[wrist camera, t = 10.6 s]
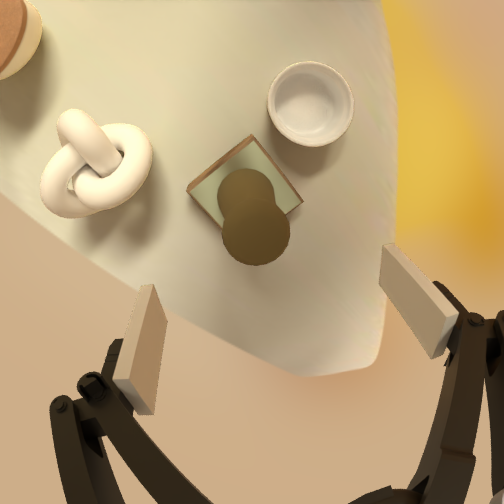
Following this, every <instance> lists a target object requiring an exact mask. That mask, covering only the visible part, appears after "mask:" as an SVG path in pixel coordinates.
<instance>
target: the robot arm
mask: <svg viewBox="0 0 504 504" xmlns="http://www.w3.org/2000/svg"><path fill="white" fill-rule="evenodd" d="M379 285H380V286H381V288H382V289H383V290H384V292H385V293H386V295H387V296H388V297H389V299H390V300H391V301H392V303H393V304H394V306H395V307H396V308H397V310H398V311H399V313H400V314H401V315H402V317H403V318H404V320H405V321H406V323H407V324H408V326H409V327H410V328H411V330H412V331H413V333H414V334H415V336H416V337H417V339H418V340H419V342H420V343H421V345H422V346H423V348H424V349H425V351H426V352H427V354H428V356H429V357H430V359H434V358H436V357H439V356H441V355H443V354H444V351H445V349H446V346H447V348H448V349H449V350H450V353H449V355H448V358H447V360H446V362H445V364H444V366H446V371H445V376H444V381H443V385H442V390H441V394H440V398H439V402H438V407H437V410H436V414H435V418H434V421H433V424H432V428H431V431H430V434H429V437H428V441H427V444H426V447H425V450H424V453H423V455H422V458H421V461H420V464H419V467H418V469H417V472H416V474H415V475H414V477H413V479H412V480H411V482H410V484H409V486H408V488H407V489H392V488H391V485H390V486H387V487H384V488H381V489H379V490H376V491H373V492H370V493H367V494H365V495H363V496H361V497H359V498H358V499H356V500H354V501H352V502H350V503H348V504H464V501H465V498H466V495H467V491H468V488H469V485H470V481H471V478H472V474H473V471H474V467H475V461H476V457H475V456H474V455H473V448H474V443H475V438H476V433H477V428H478V422H479V416H480V410H481V403H482V395H483V385H484V378H485V385H486V392H487V400H488V408H489V418H490V431H491V452H492V453H491V457H492V458H491V460H492V470H491V471H492V472H491V475H492V476H491V478H492V492H493V498H492V499H491V501H490V504H504V310H502V311H500V312H498V314H497V317H496V319H484V317H482V316H481V315H479V314H477V313H472V312H470V313H469V312H468V311H467V310H466V309H465V308H464V306H463V305H462V304H461V303H460V302H459V301H458V300H457V299H456V297H454V295H453V294H452V293H451V292H450V291H449V290H448V289H447V288H446V287H445V286H444V285H443V284H441V283H439V282H438V281H434V282H431V281H430V280H429V279H428V278H427V277H426V276H425V274H424V273H422V271H421V270H420V269H419V268H418V267H417V266H416V265H415V264H414V263H413V262H412V261H411V260H410V259H409V258H408V257H407V256H406V255H405V254H404V253H403V252H402V251H401V250H400V249H399V248H398V247H397V246H396V245H395V244H394V243H392V244H386V245H383V247H382V258H381V268H380V278H379ZM167 322H168V321H167V319H166V316H165V313H164V311H163V308H162V306H161V303H160V300H159V298H158V295H157V292H156V290H155V287H154V284H150V285H144V286H141V287H140V290H139V293H138V296H137V299H136V302H135V305H134V308H133V311H132V314H131V318H130V321H129V324H128V327H127V330H126V333H125V337H124V338H123V339H115V340H114V341H113V343H112V344H111V345H110V346H109V350H108V353H107V356H106V359H105V363H104V365H103V368H102V372H101V374H100V373H98V372H89V373H87V374H85V375H83V376H82V377H81V378H80V380H79V381H78V383H77V390H78V392H79V393H80V395H81V396H82V397H83V398H81V399H77V400H74V401H72V400H71V398H69V397H68V396H66V395H62V396H58V397H56V398H55V399H54V400H53V401H52V403H51V405H50V410H49V411H50V420H51V428H52V435H53V441H54V447H55V453H56V458H57V464H58V468H59V473H60V477H61V482H62V485H63V490H64V494H65V497H66V501H67V504H125V502H124V500H123V497H122V495H121V492H120V490H119V487H118V485H117V482H116V479H115V477H114V474H113V471H112V469H111V465H110V463H109V460H108V457H107V454H106V450H105V447H104V445H103V441H102V436H106V435H107V436H108V438H109V439H110V441H111V442H112V444H113V445H114V447H115V448H116V450H117V451H118V453H119V454H120V456H121V457H122V458H123V460H124V461H125V463H126V464H127V465H128V467H129V468H130V469H131V471H132V472H133V473H134V475H135V476H136V477H137V478H138V480H139V481H140V483H141V484H142V485H143V486H144V487H145V489H146V490H147V491H148V492H149V494H150V495H151V496H152V497H153V498H154V499H155V501H156V502H157V503H158V504H213V503H212V502H211V501H210V500H209V499H208V498H207V497H206V496H204V495H203V494H202V493H201V492H200V491H199V490H198V489H197V488H196V487H195V486H194V485H193V484H192V483H191V482H190V481H189V480H188V479H187V478H186V477H185V476H184V475H183V474H182V473H181V472H180V471H179V470H178V469H177V468H176V467H175V466H174V464H173V463H172V462H171V461H170V460H169V459H168V458H167V457H166V456H165V455H164V453H163V452H162V451H161V450H160V449H159V448H158V447H157V445H156V444H155V443H154V442H153V441H152V440H151V438H150V437H149V436H148V435H147V434H146V432H145V431H144V430H143V429H142V427H141V426H140V425H139V424H138V422H137V421H136V420H135V418H134V417H133V411H134V410H135V411H136V412H137V414H138V415H154V410H155V401H156V394H157V386H158V379H159V372H160V365H161V358H162V352H163V344H164V339H165V333H166V327H167Z"/></svg>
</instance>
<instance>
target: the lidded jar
mask: <svg viewBox="0 0 504 504" xmlns="http://www.w3.org/2000/svg"><path fill="white" fill-rule="evenodd" d="M41 35H42V19H41V16H40V14H39V12H38V10H37V9H36V8H35V7H34V6H33V5H32V4H31V3H30V2H28V1H26V0H0V80H2V79H5V78H7V77H9V76H11V75H13V74H15V73H16V72H18V71H19V70H20V69H21V68H23V67H24V66H25V65H26V64H27V63H28V61H29V60H30V59H31V58H32V56H33V55H34V53H35V51H36V49H37V47H38V45H39V43H40V39H41Z"/></svg>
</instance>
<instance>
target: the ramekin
mask: <svg viewBox="0 0 504 504" xmlns="http://www.w3.org/2000/svg"><path fill="white" fill-rule="evenodd" d="M267 108H268V113H269V115H270V117H271V119H272V121H273V123H274V125H275V127H276V128H277V129H278V130H279V132H280V133H281V134H282V135H283V136H285V137H286V138H287V139H289V140H290V141H292V142H294V143H296V144H299V145H302V146H307V147H320V146H324V145H327V144H330V143H332V142H334V141H335V140H337V139H338V138H340V137H341V136H342V135H343V134H344V133H345V131H346V130H347V129H348V127H349V125H350V123H351V121H352V118H353V113H354V99H353V95H352V91H351V89H350V87H349V85H348V83H347V82H346V80H345V79H344V78H343V76H342V75H341V74H340V73H339V72H337V71H336V70H335V69H333V68H331V67H330V66H328V65H325V64H323V63H319V62H313V61H305V62H299V63H295V64H293V65H291V66H289V67H287V68H285V69H284V70H283V71H281V72H280V73H279V74H278V75H277V76H276V78H275V79H274V81H273V82H272V84H271V86H270V89H269V93H268V97H267Z"/></svg>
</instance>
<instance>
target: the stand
mask: <svg viewBox="0 0 504 504" xmlns="http://www.w3.org/2000/svg"><path fill="white" fill-rule="evenodd" d="M245 168H248V169H255V170H257V171H259V172H261V173H263V174H264V175H265V176H266V177H267V178H268V179H269V180H270V181H271V183H272V186H273V188H274V194H275V201H276V205H277V206H278V207H279V208H280V209H281V210H282V211H283V212H284V214H285V215H287V214H288V213H289V212H291V211H292V210H293V209H295V208H296V207H297V206H299V205H300V204H301V203H303V202H304V201H303V199H302V198H301V197H300V195H299V194H298V193H297V191H296V190H295V189H294V187H293V186H292V185H291V183H290V182H289V181H288V179H287V178H286V177H285V175H284V174H283V173H282V171H281V170H280V169H279V167H278V166H277V165H276V164H275V162H274V161H273V160H272V158H271V157H270V156H269V155H268V153H267V152H266V151H265V149H264V148H263V147H262V146H261V144H260V143H259V142H258V141H257V139H256V138H255V137H254V136H253V135H252V134H251V135H250V136H248V137H247V138H246V139H244V140H243V141H242V142H240V143H239V144H238V145H237V146H235V147H234V148H233V149H231V150H230V151H229V152H228V153H226V154H225V155H224V156H223V157H221V158H220V159H219V160H218V161H216V162H215V163H214V164H213V165H211V166H210V167H209V168H208V169H207V170H205V171H204V172H203V173H202V174H201V175H199V176H198V177H197V178H196V179H195V180H193V181H192V182H191V183H190V184H189V185H188V187H187V190H186V192H187V193H188V194H189V195H190V196H191V197H192V198H193V199H194V200H195V201H196V202H197V204H198V205H199V206H200V207H201V208H202V209H203V210H204V211H205V212H206V213H207V214H208V216H209V217H210V218H211V219H212V220H213V221H214V222H215V223H216V224H217V225H218V226H219V227H220V229H221V230H222V228H223V221H224V220H225V219H224V217H223V215H222V213H221V210H220V208H219V206H218V201H217V192H218V187H219V186H220V184H221V182H222V180H223V179H224V178H225V177H226V176H227V175H228V174H229V173H232V172H234V171H236V170H238V169H245Z"/></svg>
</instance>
